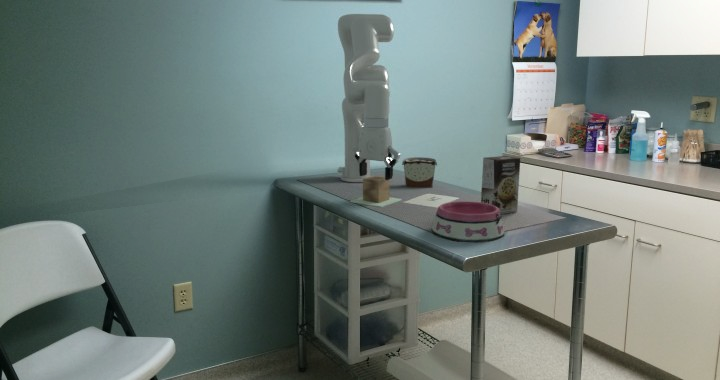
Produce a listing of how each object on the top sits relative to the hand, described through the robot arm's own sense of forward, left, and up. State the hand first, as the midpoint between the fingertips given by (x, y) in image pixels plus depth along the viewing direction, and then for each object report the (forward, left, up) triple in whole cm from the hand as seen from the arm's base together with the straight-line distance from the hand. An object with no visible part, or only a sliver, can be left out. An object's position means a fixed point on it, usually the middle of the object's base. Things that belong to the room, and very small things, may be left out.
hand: (375, 177), depth 185 cm
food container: (0, +28, -8) cm, 30 cm away
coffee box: (+38, +9, -8) cm, 40 cm away
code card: (+15, +10, -8) cm, 19 cm away
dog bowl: (+39, -16, -8) cm, 43 cm away
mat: (+1, -1, -8) cm, 8 cm away
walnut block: (+1, -1, -7) cm, 7 cm away
